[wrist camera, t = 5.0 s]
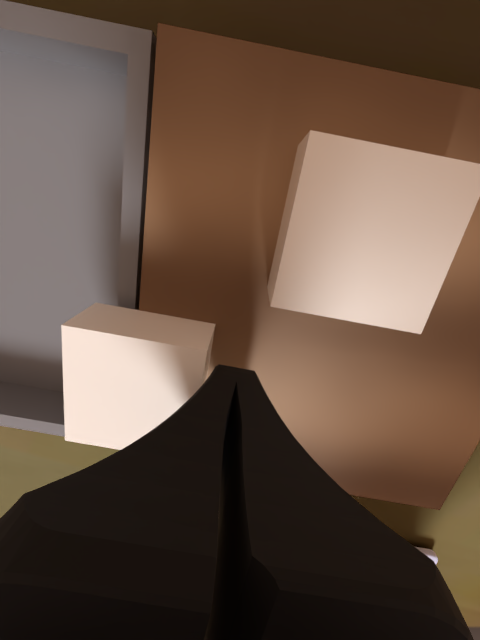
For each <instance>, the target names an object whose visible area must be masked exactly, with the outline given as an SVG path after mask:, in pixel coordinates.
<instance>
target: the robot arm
mask: <svg viewBox="0 0 480 640" xmlns="http://www.w3.org/2000/svg"><path fill="white" fill-rule="evenodd" d="M218 517H219V518H218ZM437 561H438V558H437V556H436V554H435V552H434V551H433V550H431V549H426V548H420V547H414V546H413V545H412V544H410V543H409V542H407V541H406V540H405V539H403V538H402V537H401V536H399V535H398V534H397V533H395V532H394V531H393V530H391V529H390V528H389V527H387V526H386V525H385V524H383V523H382V522H381V521H380V520H378V519H377V518H376V517H375V516H374V515H372V514H371V513H370V512H369V511H368V510H366V509H365V508H364V507H363V506H362V505H361V504H359V503H358V502H357V501H356V500H355V499H354V498H352V497H351V496H350V495H349V494H348V493H347V492H346V491H345V490H344V489H342V488H341V487H340V486H339V485H338V484H337V483H336V482H335V481H334V480H333V479H332V478H331V477H330V476H329V475H328V474H327V473H326V472H325V471H324V470H323V469H322V468H321V467H320V466H319V465H318V464H317V463H316V462H315V461H314V460H313V458H312V457H311V456H310V455H309V454H308V453H307V452H306V450H305V449H304V448H303V447H302V446H301V444H300V443H299V442H298V441H297V440H296V438H295V437H294V436H293V435H292V433H291V432H290V430H289V429H288V428H287V426H286V425H285V423H284V422H283V420H282V419H281V417H280V416H279V414H278V413H277V411H276V409H275V408H274V406H273V404H272V403H271V401H270V399H269V397H268V396H267V394H266V392H265V390H264V388H263V386H262V384H261V382H260V380H259V378H258V376H257V374H256V372H255V371H253V370H248V369H242V368H237V367H231V366H226V365H220V364H219V365H217V366H215V368H214V370H213V371H212V373H211V374H210V376H209V377H208V379H207V380H206V381H205V382H204V384H203V385H202V386H201V387H200V388H199V389H198V390H197V391H196V392H195V394H194V395H193V396H192V397H191V398H190V399H189V400H187V401H186V402H185V403H184V404H183V405H182V406H181V407H180V408H179V409H178V410H177V411H176V412H174V413H173V414H172V415H171V416H170V417H169V418H167V419H166V420H165V421H163V422H162V423H161V424H159V425H158V426H157V427H155V428H154V429H153V430H151V431H150V432H148V433H147V434H145V435H144V436H142V437H141V438H139V439H138V440H136V441H135V442H133V443H132V444H130V445H128V446H127V447H125V448H123V449H122V450H120V451H118V452H116V453H114V454H112V455H110V456H108V457H107V458H105V459H103V460H101V461H99V462H97V463H95V464H93V465H91V466H89V467H87V468H85V469H83V470H81V471H78V472H76V473H74V474H71V475H69V476H67V477H64V478H62V479H59V480H57V481H55V482H52V483H50V484H47V485H45V486H43V487H40V488H38V489H35V490H33V491H30V492H27V493H25V494H23V495H22V497H21V498H20V499H19V500H18V501H17V502H16V503H15V504H14V505H13V506H12V507H11V508H10V509H9V510H8V511H7V512H6V513H5V514H4V515H3V516H2V517H1V518H0V640H473V637H472V635H471V633H470V630H469V628H468V626H467V624H466V622H465V620H464V618H463V616H462V614H461V612H460V610H459V608H458V606H457V604H456V602H455V600H454V598H453V596H452V594H451V592H450V590H449V588H448V586H447V584H446V582H445V581H444V579H443V577H442V575H441V573H440V571H439V570H438V568H437V566H436V564H437Z"/></svg>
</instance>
